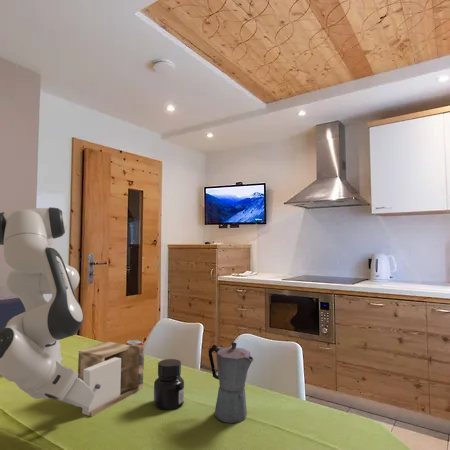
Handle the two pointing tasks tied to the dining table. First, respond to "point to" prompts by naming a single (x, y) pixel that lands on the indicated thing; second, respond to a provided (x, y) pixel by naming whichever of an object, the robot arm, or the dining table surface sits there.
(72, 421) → the dining table surface
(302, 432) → the dining table surface
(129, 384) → the cabinet
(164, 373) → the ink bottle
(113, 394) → the door
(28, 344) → the robot arm
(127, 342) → the soda can
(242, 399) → the moka pot
